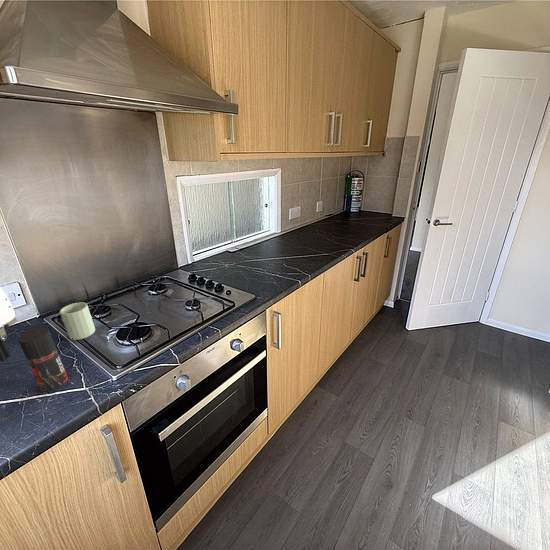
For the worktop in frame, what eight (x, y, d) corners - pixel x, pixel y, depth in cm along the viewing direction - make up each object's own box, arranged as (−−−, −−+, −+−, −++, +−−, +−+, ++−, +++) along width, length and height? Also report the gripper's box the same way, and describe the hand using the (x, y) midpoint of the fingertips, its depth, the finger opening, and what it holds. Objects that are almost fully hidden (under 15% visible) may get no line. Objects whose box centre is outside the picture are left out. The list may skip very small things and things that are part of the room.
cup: (63, 338, 94) (53, 313, 90) (81, 326, 100) (72, 301, 97) (83, 340, 92) (74, 314, 89) (100, 327, 99) (92, 303, 95)
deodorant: (68, 384, 75) (48, 335, 69) (39, 395, 72) (16, 345, 66) (67, 371, 80) (48, 324, 74) (40, 380, 77) (18, 333, 71)
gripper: (-13, 265, 63) (20, 336, 70) (-106, 298, 50) (-53, 381, 57) (16, 266, 62) (47, 338, 69) (-72, 300, 48) (-22, 385, 56)
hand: (1, 358), depth 63 cm, fingers closed
